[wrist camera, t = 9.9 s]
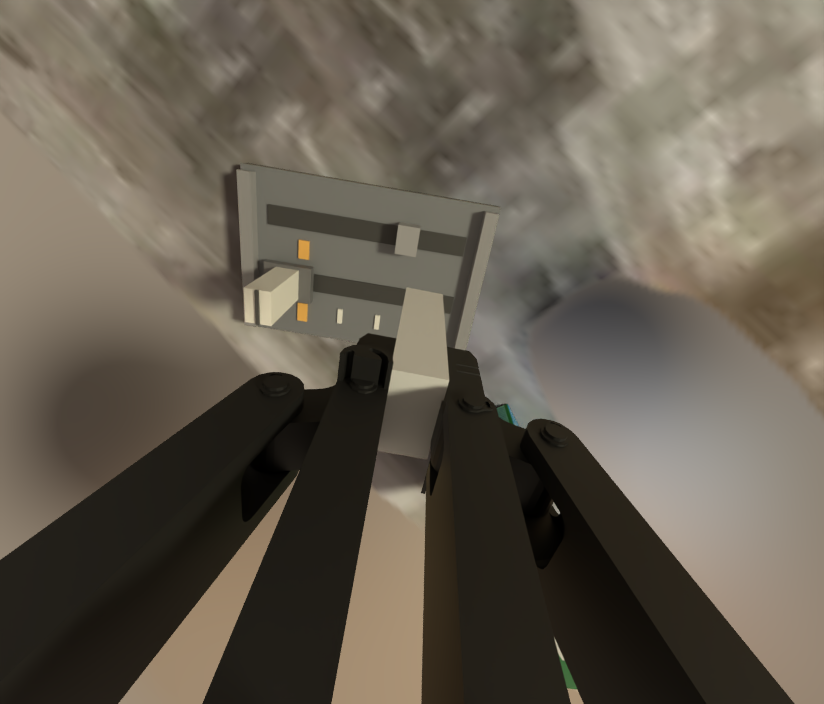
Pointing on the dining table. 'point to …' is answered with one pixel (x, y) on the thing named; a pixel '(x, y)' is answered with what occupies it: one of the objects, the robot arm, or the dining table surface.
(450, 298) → the console
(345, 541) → the robot arm
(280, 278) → the fader
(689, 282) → the dining table surface
